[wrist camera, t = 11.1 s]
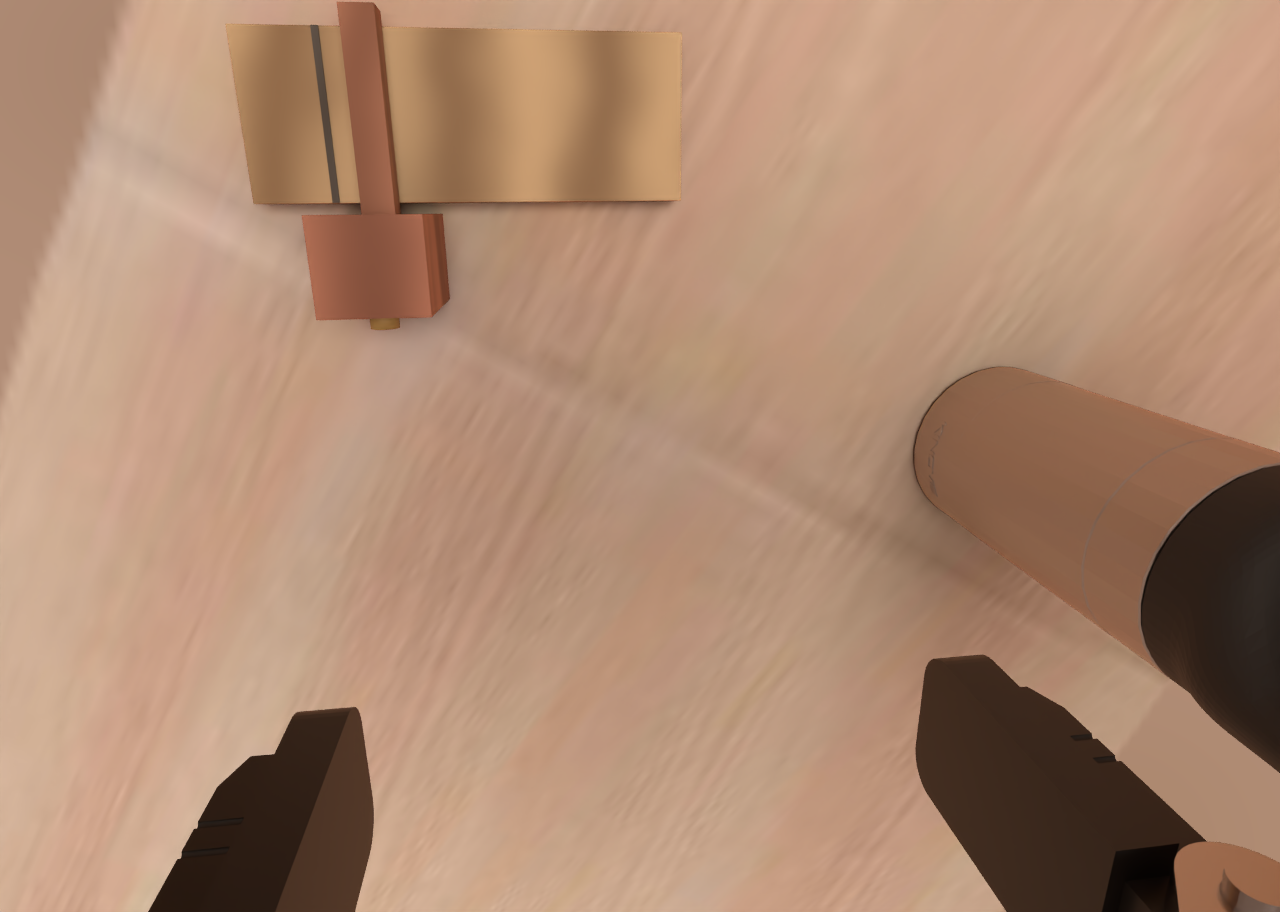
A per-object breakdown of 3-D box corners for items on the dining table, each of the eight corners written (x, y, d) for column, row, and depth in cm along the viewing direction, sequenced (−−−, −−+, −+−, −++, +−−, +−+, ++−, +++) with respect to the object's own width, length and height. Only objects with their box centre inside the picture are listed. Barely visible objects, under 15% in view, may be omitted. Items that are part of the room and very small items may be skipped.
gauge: (426, 25, 34) (400, -20, 27) (450, 312, 38) (433, 333, 31) (321, 23, 33) (268, -24, 27) (357, 314, 37) (318, 336, 31)
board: (673, 42, 35) (682, 32, 33) (673, 200, 37) (681, 200, 36) (243, 34, 33) (224, 23, 31) (268, 203, 35) (252, 203, 33)
